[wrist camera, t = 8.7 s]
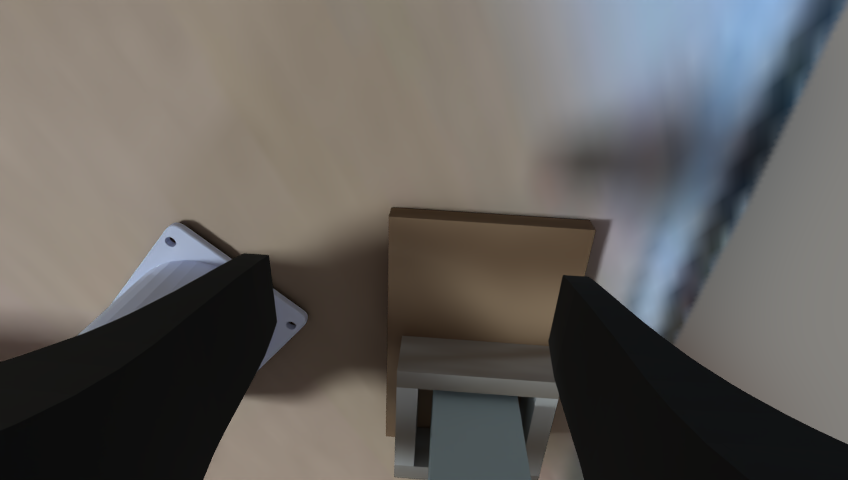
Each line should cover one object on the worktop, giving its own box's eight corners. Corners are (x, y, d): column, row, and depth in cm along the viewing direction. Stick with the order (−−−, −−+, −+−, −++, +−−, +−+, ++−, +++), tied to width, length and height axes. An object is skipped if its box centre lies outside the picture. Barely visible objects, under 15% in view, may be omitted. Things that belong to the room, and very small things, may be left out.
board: (391, 207, 21) (380, 243, 18) (589, 220, 21) (613, 258, 18) (388, 422, 28) (380, 476, 25) (539, 434, 28) (550, 489, 24)
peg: (503, 420, 26) (519, 554, 20) (431, 415, 26) (424, 546, 20) (512, 366, 24) (533, 495, 18) (435, 360, 24) (429, 487, 18)
